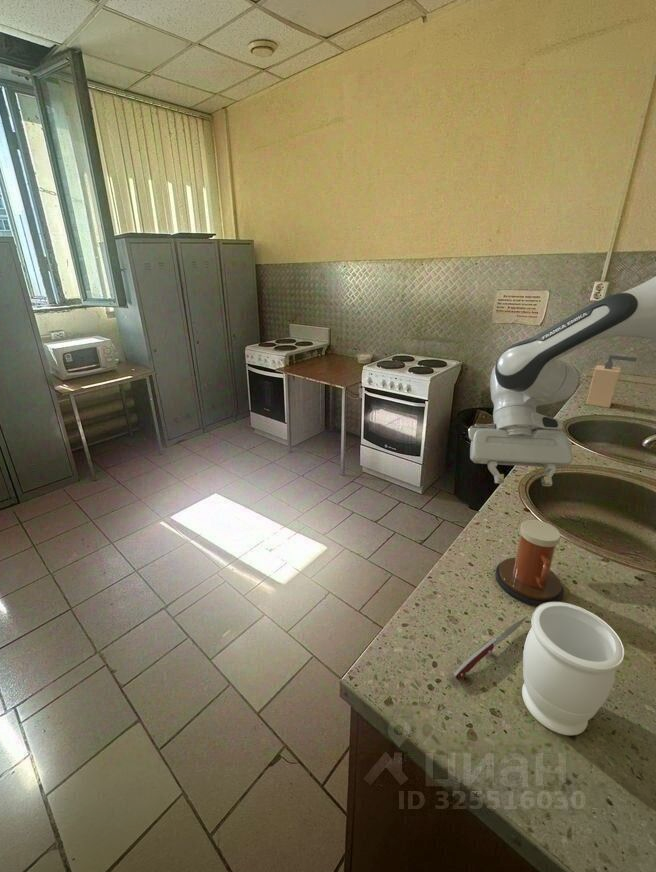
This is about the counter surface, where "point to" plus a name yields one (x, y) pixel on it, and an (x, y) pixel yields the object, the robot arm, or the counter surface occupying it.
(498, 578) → the base
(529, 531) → the coffee mug with lid
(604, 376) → the soap dispenser
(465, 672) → the knife
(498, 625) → the counter surface
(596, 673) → the jar
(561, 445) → the robot arm
